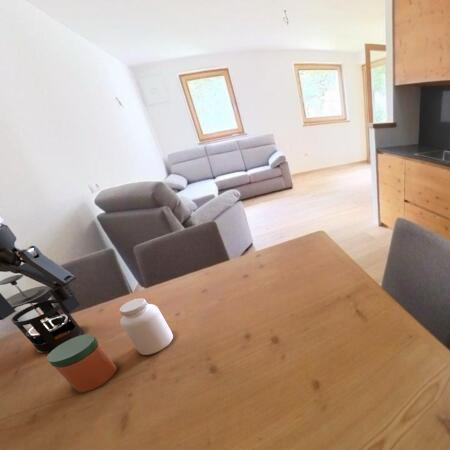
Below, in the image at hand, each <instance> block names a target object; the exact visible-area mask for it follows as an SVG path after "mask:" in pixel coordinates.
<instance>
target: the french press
mask: <svg viewBox="0 0 450 450" xmlns="http://www.w3.org/2000/svg"><path fill="white" fill-rule="evenodd" d="M23 277H24V275H22V274H16V275H11V276H9V277H6V278H4V279H2V280H0V286H3V285H8V284H10V285H11V286H14V287H15V288H16V289H17V290H18V291H19V292H18V293H15V294H12V295H11V296H9V297H7V298H5V299H6V300H7V301H8V303H9V304H10V305H11V306H12V307H13V308H14V310H16V308H18V307H21V306H24V305H28V304H29V306H27V307H25V308H23V309H22V310H19V311H18V312H17V313H15V314H14V315H13V316H12V317H11V320H10V321H11V322H12V323H13V324H14V325H15V326H16V327H17V328H18V329H19V330H20V331H21V333H22V334H23V335H24V336H25V337H26V338H27V339H28V340H29V341H30V342H31V344H32V345H33V347H34V348H35V349H36V351H37V353H38V354H43V355H45V354H49V353H50V352H51V351H52V350H54V349H55V348H56V347H58V346H59V345H61V344H62V343H64V342H66V341H68V340H70V339H72V338H75V337H77V336H81V335H84V332H85V331H84V328H83V327H80V325H79V324H78V322H77V321H76V320H75V318H74V317H73V316H72V315H71V313H66V312H65V311H64V310H63V308H62V307H61V306H60V304H59V303H58V302H57V300H56V299H55V298H54V299H52V297H53V295H52V294H51V292H50V290H51V287H48V286H46V285H42V286H36V287H32V288H29V289H25V290H22V289H21V288H20V287H19V286H18V282H17V281H19V280H21V279H22V278H23ZM50 298H51V299H50ZM53 304H56V305H55V306H54V305H53ZM38 308H39V310H40V311H41V312H42V314H41V312H40V311H39V310H38ZM59 310H62V312H63V313H62V314H60V313H59ZM31 311H35V312H36V313H37V314H38V315H37V316H35V317H33V318H29V319H25V320H21V321H19V319H20V318H21V317H23V316H24V315H26V314H27V313H30V312H31ZM28 325H31V327H30V328H29V329H27V328H26V327H25V326H28ZM62 334H64V335H62ZM59 335H62V336H60V337H58V336H59ZM56 337H58V338H56Z"/></svg>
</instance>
